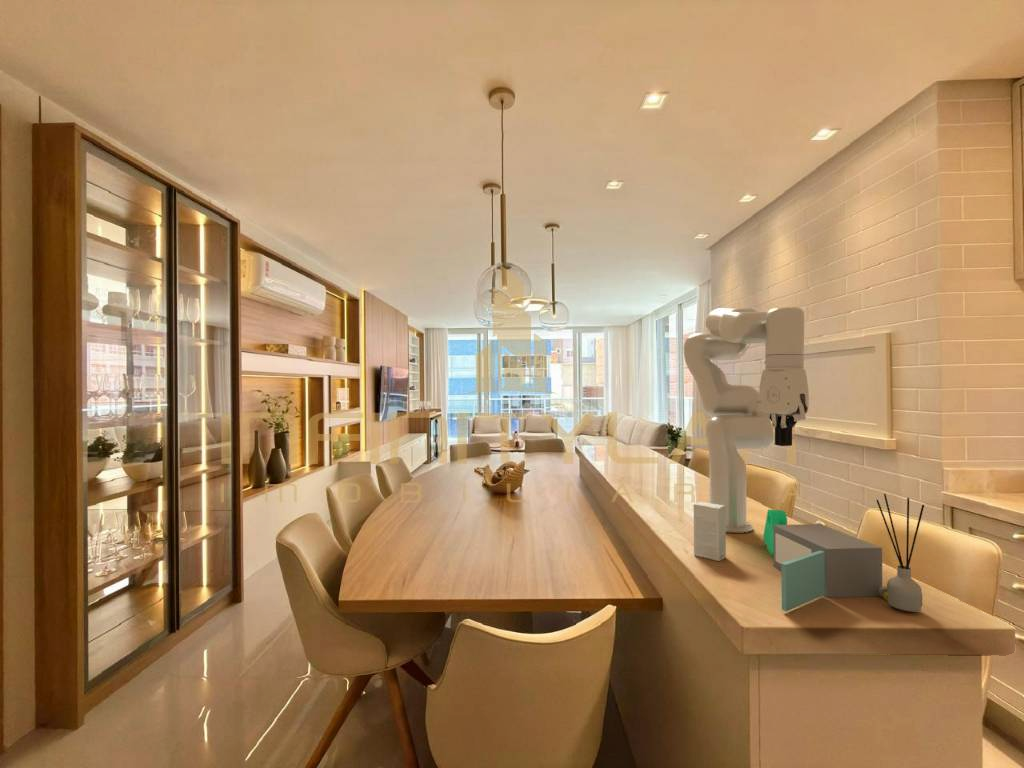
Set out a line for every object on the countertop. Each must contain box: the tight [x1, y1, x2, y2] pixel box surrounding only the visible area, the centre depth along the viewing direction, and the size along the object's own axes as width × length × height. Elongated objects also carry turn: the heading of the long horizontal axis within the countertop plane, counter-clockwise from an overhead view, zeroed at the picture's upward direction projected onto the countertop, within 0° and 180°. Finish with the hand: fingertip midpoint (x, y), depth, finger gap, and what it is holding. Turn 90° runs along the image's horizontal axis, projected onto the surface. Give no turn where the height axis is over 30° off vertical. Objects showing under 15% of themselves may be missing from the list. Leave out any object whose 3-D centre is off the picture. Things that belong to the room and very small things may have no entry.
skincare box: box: [693, 501, 727, 562], centre depth 111 cm, size 6×4×12 cm
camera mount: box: [763, 509, 788, 557], centre depth 113 cm, size 12×8×10 cm, turn 164°
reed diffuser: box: [876, 493, 925, 613], centre depth 85 cm, size 10×7×20 cm
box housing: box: [773, 523, 883, 598], centre depth 98 cm, size 16×11×9 cm
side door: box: [781, 551, 825, 612], centre depth 86 cm, size 13×1×8 cm, turn 122°
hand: (783, 445), depth 107 cm, fingers closed
